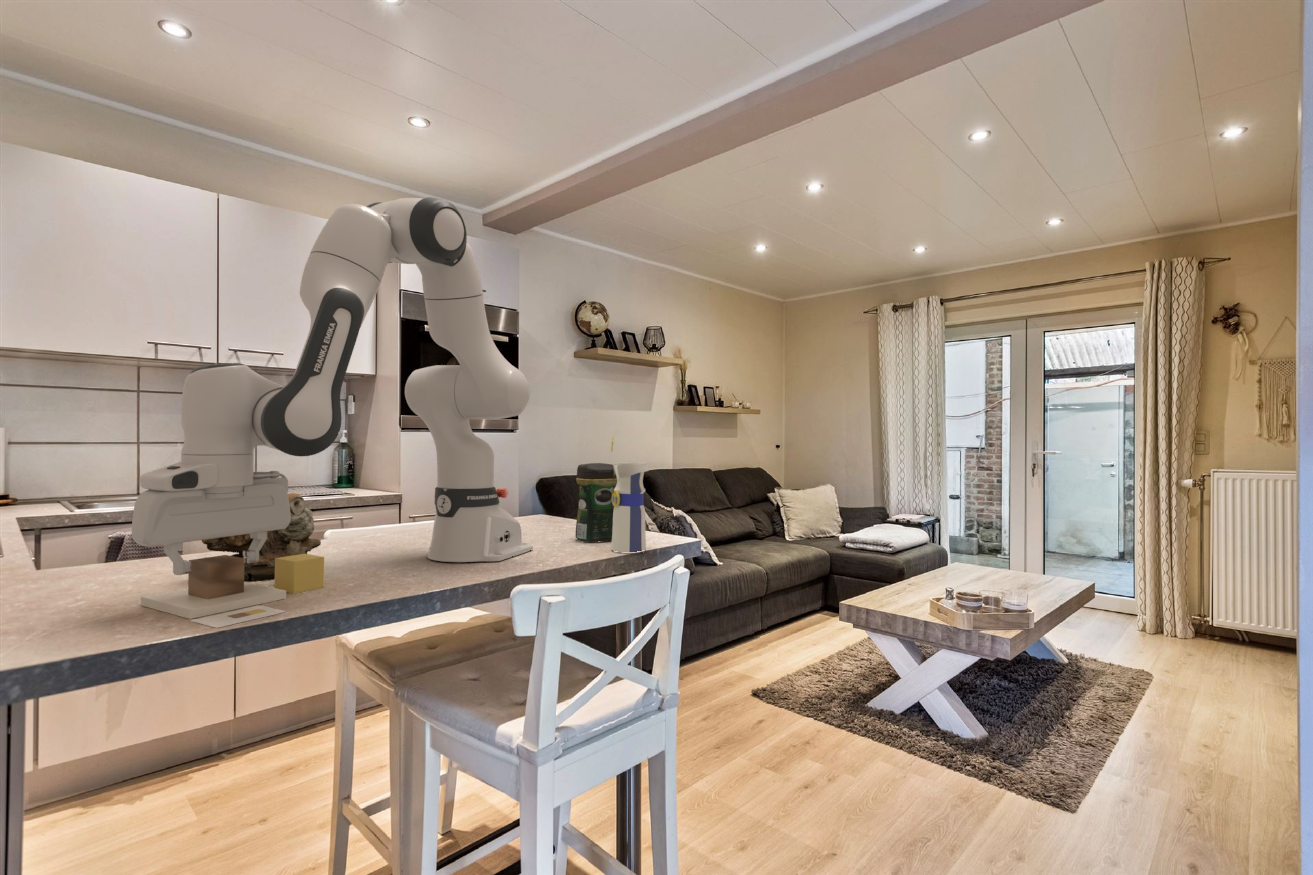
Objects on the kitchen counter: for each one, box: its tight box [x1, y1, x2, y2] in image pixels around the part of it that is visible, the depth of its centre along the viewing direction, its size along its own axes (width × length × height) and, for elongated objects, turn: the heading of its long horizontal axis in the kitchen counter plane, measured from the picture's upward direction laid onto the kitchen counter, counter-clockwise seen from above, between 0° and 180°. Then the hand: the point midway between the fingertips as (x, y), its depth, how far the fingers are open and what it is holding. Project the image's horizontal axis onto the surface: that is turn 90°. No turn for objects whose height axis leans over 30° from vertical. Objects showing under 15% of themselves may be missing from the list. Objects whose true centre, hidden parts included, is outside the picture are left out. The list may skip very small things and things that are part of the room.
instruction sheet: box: [190, 604, 286, 629], centre depth 88 cm, size 9×6×1 cm, turn 152°
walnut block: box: [187, 554, 245, 599], centre depth 96 cm, size 5×5×5 cm
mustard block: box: [273, 553, 325, 594], centre depth 105 cm, size 5×5×5 cm
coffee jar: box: [575, 462, 617, 543], centre depth 158 cm, size 10×8×19 cm
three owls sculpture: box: [201, 478, 322, 582], centre depth 115 cm, size 18×12×17 cm, turn 133°
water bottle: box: [610, 436, 650, 552], centre depth 144 cm, size 8×9×25 cm
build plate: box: [140, 581, 287, 620], centre depth 96 cm, size 13×13×1 cm
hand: (217, 567), depth 96 cm, fingers open, 8 cm apart
